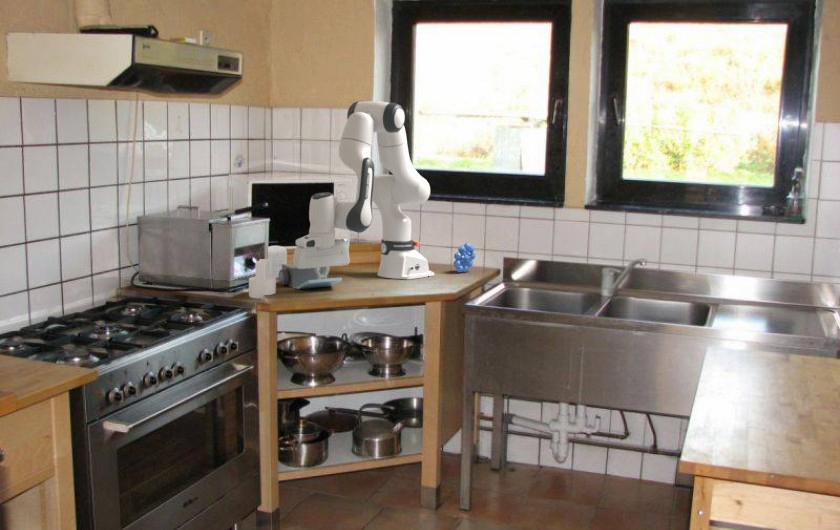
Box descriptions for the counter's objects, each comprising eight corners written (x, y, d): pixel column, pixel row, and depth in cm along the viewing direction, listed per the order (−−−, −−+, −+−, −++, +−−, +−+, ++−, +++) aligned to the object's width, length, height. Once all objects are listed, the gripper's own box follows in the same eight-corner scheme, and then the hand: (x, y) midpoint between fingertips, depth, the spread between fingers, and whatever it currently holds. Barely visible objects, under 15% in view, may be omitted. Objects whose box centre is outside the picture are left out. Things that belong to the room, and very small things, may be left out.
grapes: (466, 269, 379) (467, 240, 377) (478, 272, 374) (479, 242, 372) (446, 272, 371) (447, 242, 369) (458, 274, 366) (459, 244, 364)
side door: (327, 285, 331) (341, 277, 322) (328, 287, 331) (342, 280, 322) (294, 288, 324) (308, 280, 315) (294, 290, 324) (308, 283, 315)
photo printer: (281, 276, 352) (282, 244, 350) (288, 277, 349) (288, 245, 347) (259, 279, 345) (259, 246, 343) (265, 280, 342) (265, 247, 340)
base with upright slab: (273, 299, 310) (273, 263, 308) (246, 298, 310) (246, 262, 308) (277, 293, 319) (277, 259, 317) (251, 292, 319) (251, 258, 317)
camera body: (316, 283, 339) (317, 259, 338) (328, 287, 332) (328, 263, 331) (276, 286, 331) (276, 262, 329) (286, 291, 323) (287, 266, 322)
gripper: (344, 237, 326) (344, 275, 329) (291, 240, 315) (291, 280, 318) (353, 239, 321) (352, 278, 323) (299, 243, 310) (299, 283, 313)
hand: (321, 279), depth 321 cm, fingers closed, pressing on side door
